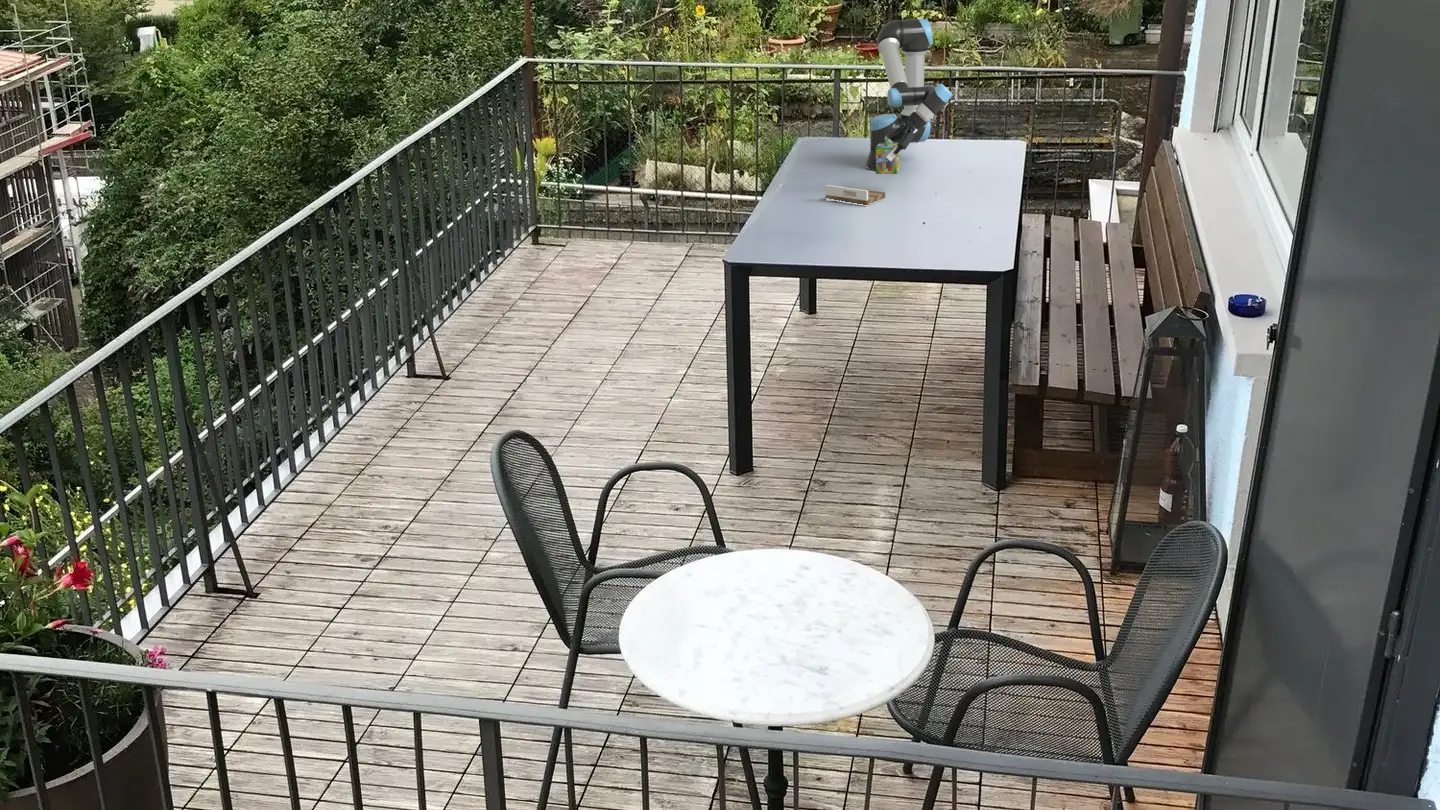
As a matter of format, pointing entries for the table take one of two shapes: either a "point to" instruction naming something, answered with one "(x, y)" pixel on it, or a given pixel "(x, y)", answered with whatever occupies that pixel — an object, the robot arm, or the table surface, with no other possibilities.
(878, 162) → the chalk box
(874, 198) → the shelf board
